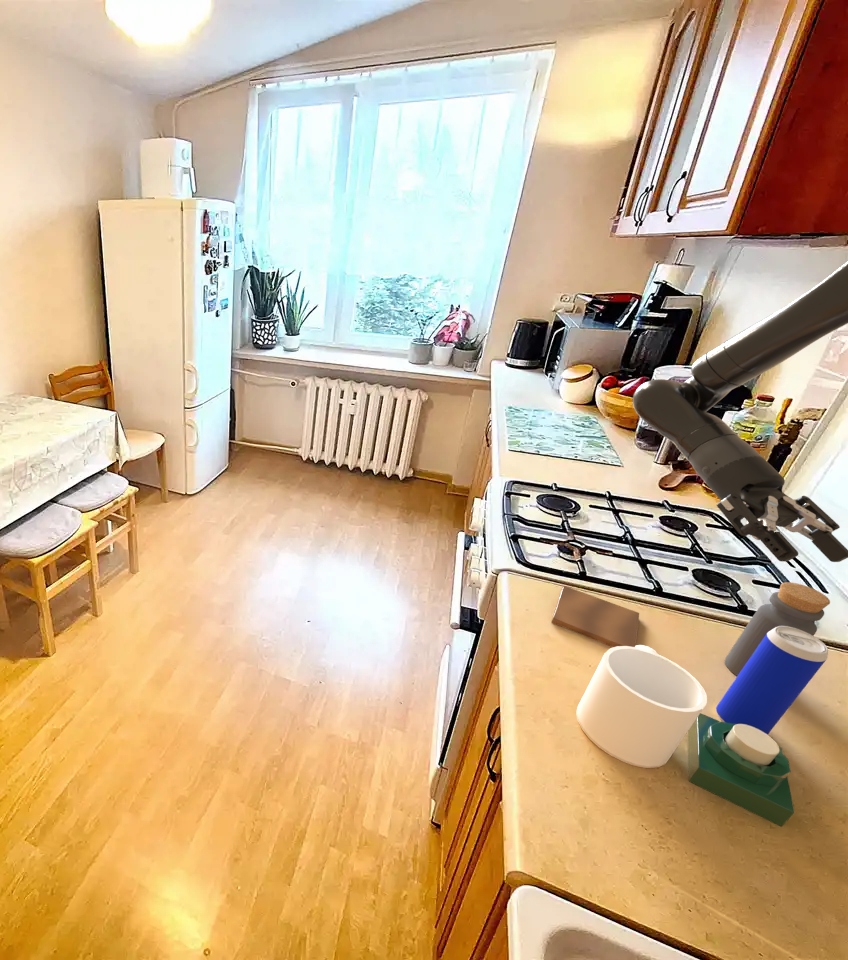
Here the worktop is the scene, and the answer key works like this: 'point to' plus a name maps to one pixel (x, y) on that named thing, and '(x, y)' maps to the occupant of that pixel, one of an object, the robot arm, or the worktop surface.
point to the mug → (639, 705)
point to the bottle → (778, 620)
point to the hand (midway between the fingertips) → (816, 558)
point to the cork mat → (596, 618)
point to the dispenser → (738, 772)
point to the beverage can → (772, 678)
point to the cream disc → (752, 744)
